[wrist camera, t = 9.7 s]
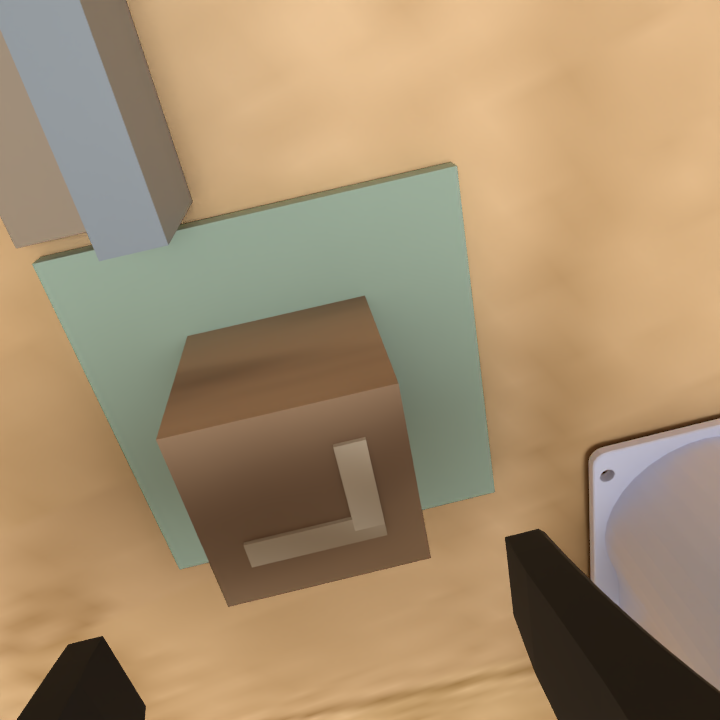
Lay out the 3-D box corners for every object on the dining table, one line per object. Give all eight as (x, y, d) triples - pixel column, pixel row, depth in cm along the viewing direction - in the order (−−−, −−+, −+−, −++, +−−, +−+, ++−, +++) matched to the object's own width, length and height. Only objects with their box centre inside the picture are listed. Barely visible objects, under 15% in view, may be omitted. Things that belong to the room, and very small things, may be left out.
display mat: (489, 481, 21) (494, 492, 20) (182, 556, 21) (179, 569, 20) (450, 162, 16) (456, 165, 15) (40, 257, 15) (32, 264, 15)
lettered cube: (393, 440, 19) (431, 561, 14) (238, 476, 19) (228, 610, 14) (365, 295, 16) (399, 385, 12) (187, 336, 16) (155, 442, 12)
